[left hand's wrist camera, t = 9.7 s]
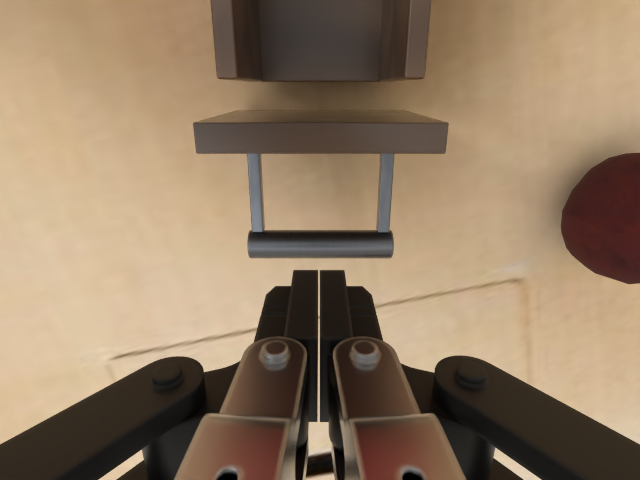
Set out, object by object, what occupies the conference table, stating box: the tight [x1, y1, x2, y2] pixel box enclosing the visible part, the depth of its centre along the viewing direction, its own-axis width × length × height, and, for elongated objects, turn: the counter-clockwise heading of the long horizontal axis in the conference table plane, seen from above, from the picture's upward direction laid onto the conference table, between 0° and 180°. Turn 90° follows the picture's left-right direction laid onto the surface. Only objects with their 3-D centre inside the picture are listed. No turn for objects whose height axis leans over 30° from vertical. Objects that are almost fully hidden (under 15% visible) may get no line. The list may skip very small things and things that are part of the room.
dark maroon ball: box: [561, 153, 640, 284], centre depth 24 cm, size 7×8×7 cm
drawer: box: [193, 0, 448, 258], centre depth 19 cm, size 22×10×9 cm, turn 0°
